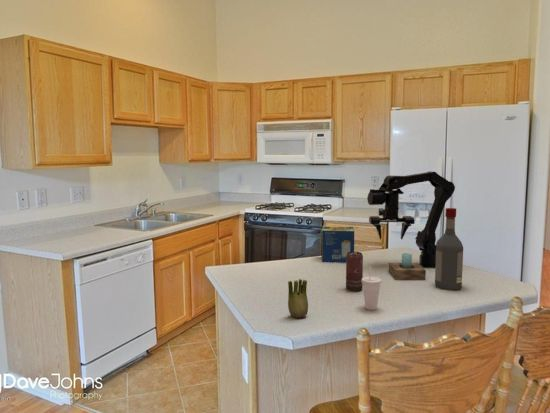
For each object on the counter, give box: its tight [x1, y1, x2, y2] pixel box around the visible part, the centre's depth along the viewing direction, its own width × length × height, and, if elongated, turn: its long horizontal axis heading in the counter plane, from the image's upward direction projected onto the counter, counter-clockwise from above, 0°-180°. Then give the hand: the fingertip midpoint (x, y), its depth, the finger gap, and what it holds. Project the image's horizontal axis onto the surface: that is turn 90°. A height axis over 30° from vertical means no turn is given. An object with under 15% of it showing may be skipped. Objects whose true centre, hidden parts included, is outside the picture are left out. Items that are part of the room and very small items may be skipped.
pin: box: [401, 252, 413, 268], centre depth 170 cm, size 4×4×8 cm
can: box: [345, 250, 364, 293], centre depth 154 cm, size 6×6×14 cm
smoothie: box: [362, 266, 382, 311], centre depth 135 cm, size 6×6×14 cm
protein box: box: [321, 226, 355, 264], centre depth 197 cm, size 10×15×16 cm
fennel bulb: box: [287, 278, 309, 319], centre depth 128 cm, size 6×5×12 cm
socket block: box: [388, 262, 427, 281], centre depth 171 cm, size 12×12×4 cm
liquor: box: [434, 207, 464, 291], centre depth 155 cm, size 9×9×30 cm
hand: (390, 239), depth 182 cm, fingers open, 9 cm apart
